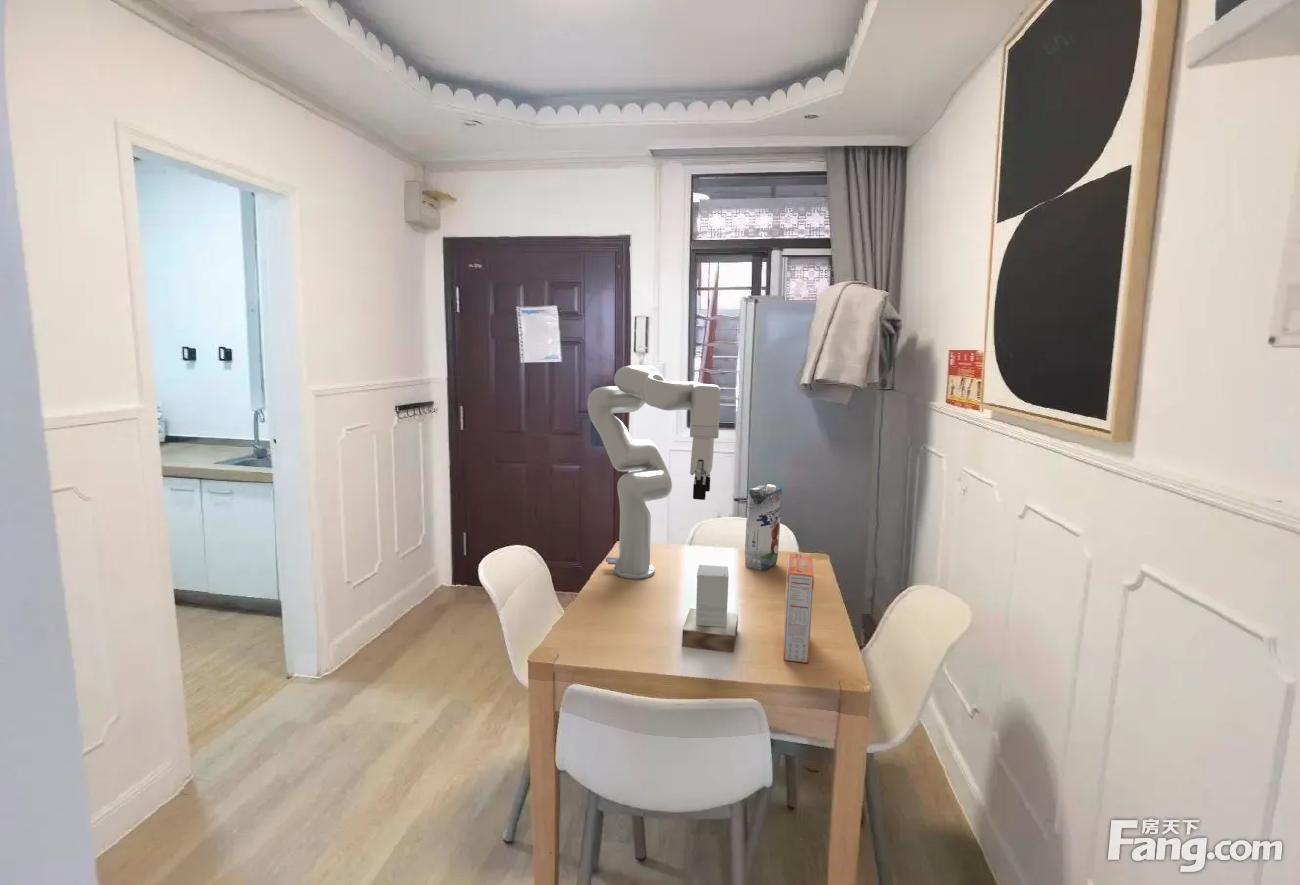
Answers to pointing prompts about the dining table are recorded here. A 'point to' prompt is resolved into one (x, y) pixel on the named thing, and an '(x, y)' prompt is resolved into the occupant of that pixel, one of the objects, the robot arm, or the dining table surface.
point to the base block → (710, 634)
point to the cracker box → (798, 608)
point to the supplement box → (712, 595)
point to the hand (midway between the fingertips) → (701, 495)
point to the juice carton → (762, 527)
